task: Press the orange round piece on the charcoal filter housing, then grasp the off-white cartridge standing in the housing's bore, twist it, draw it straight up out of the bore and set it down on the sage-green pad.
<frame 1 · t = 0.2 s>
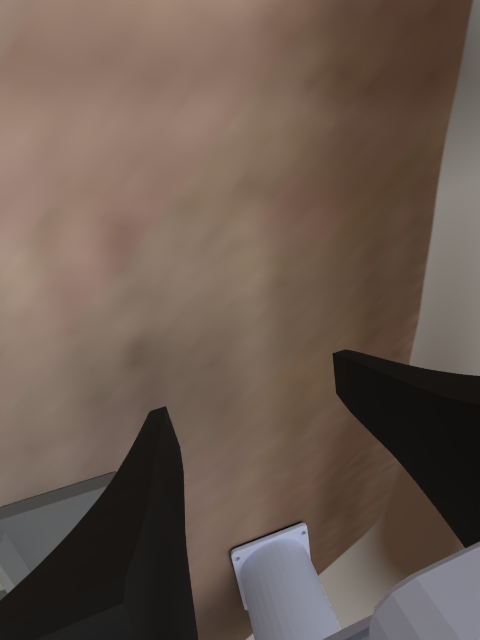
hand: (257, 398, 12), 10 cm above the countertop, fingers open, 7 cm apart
housing: (32, 570, 24), on the countertop
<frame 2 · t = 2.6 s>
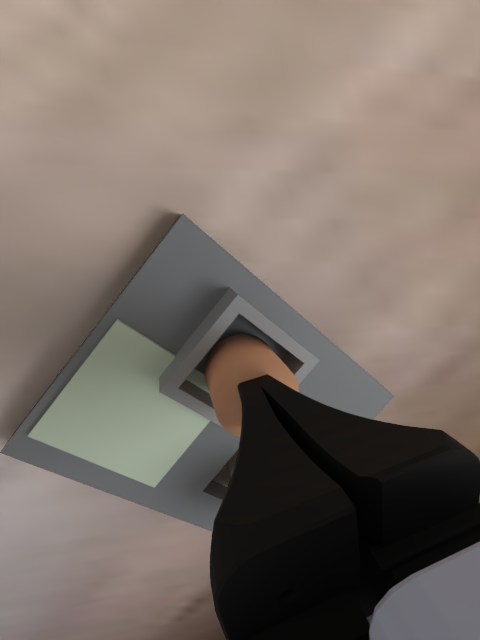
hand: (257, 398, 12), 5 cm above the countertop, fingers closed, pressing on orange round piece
orange round piece: (248, 382, 13), point 3 cm above the countertop, slide at 0.9 cm, touching gripper
housing: (224, 407, 18), on the countertop
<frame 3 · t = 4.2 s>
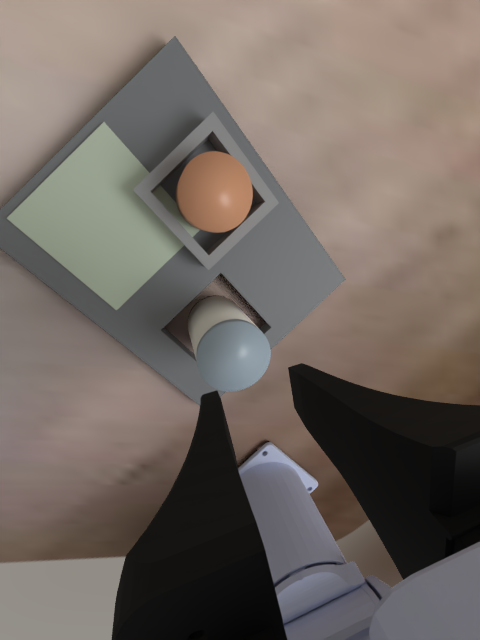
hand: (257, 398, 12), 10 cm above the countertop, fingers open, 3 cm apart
orange round piece: (211, 196, 16), point 3 cm above the countertop, slide at 1.2 cm
housing: (191, 257, 19), on the countertop
cartridge: (215, 323, 21), resting in housing
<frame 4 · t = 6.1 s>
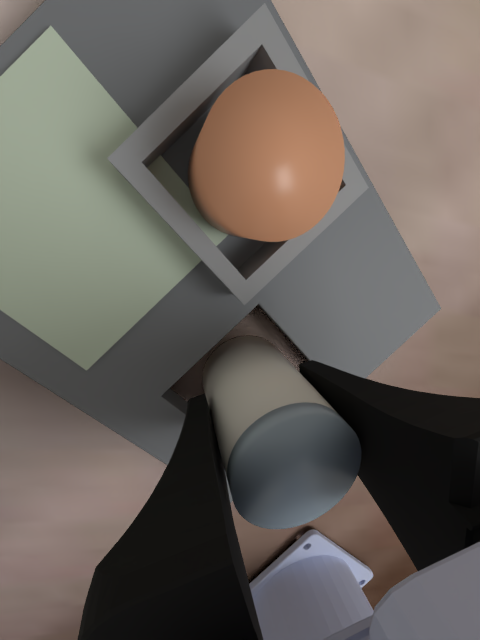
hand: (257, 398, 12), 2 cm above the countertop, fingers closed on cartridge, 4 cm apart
orange round piece: (257, 172, 8), point 3 cm above the countertop, slide at 1.2 cm
housing: (210, 277, 12), on the countertop
cartridge: (244, 375, 14), resting in housing, touching gripper
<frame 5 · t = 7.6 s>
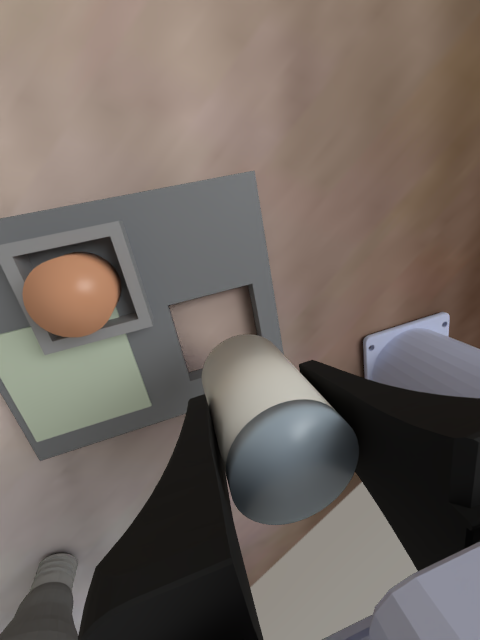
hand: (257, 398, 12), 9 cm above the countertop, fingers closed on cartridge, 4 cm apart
orange round piece: (78, 292, 14), point 3 cm above the countertop, slide at 1.2 cm
housing: (142, 318, 19), on the countertop
cartridge: (243, 373, 14), point 7 cm above the countertop, touching gripper
light bulb: (61, 556, 23), on the countertop
when the fingers open (5 cm above the countertop, at t = 9.6 s): cartridge drops 1 cm, resting on housing.
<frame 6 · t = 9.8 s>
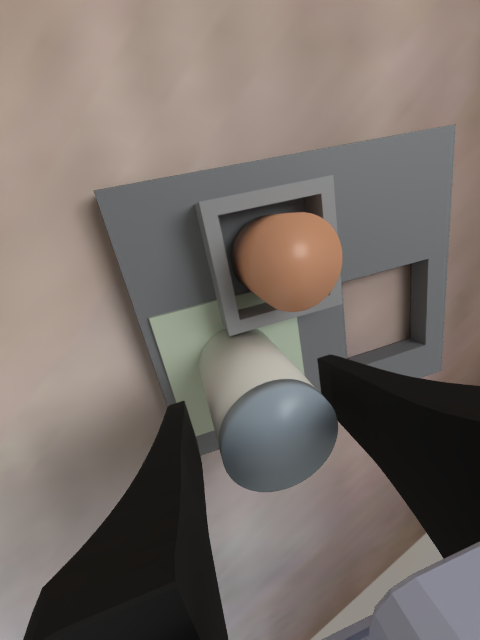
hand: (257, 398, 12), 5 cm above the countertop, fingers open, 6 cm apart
orange round piece: (282, 259, 12), point 3 cm above the countertop, slide at 1.2 cm
housing: (301, 298, 16), on the countertop
cartridge: (238, 362, 15), point 1 cm above the countertop, touching housing
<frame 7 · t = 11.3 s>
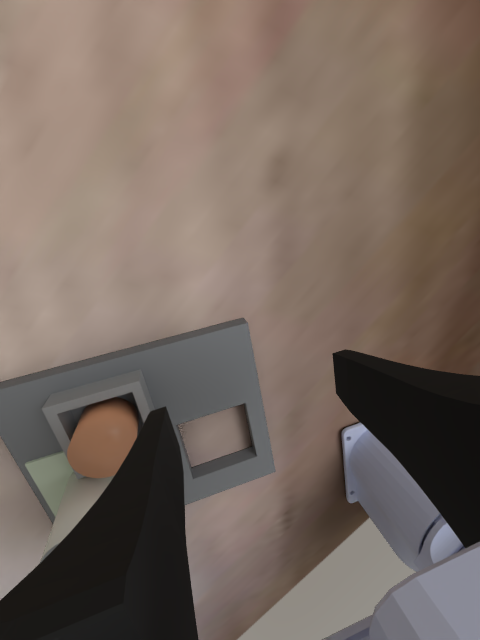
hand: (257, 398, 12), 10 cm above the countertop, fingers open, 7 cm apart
orange round piece: (106, 435, 18), point 3 cm above the countertop, slide at 1.2 cm
housing: (153, 430, 23), on the countertop
cartridge: (98, 484, 21), point 1 cm above the countertop, touching housing
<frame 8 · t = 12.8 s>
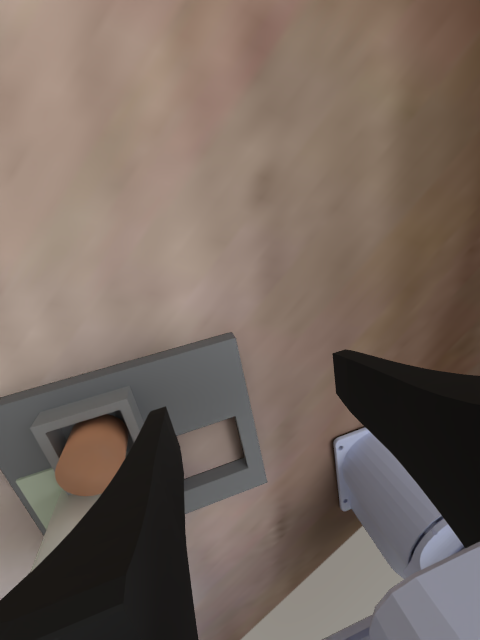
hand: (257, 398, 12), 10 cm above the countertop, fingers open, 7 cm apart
orange round piece: (95, 452, 18), point 3 cm above the countertop, slide at 1.2 cm
housing: (144, 443, 23), on the countertop
cartridge: (89, 499, 21), point 1 cm above the countertop, touching housing
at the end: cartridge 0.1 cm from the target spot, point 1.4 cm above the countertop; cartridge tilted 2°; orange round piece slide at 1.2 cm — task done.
